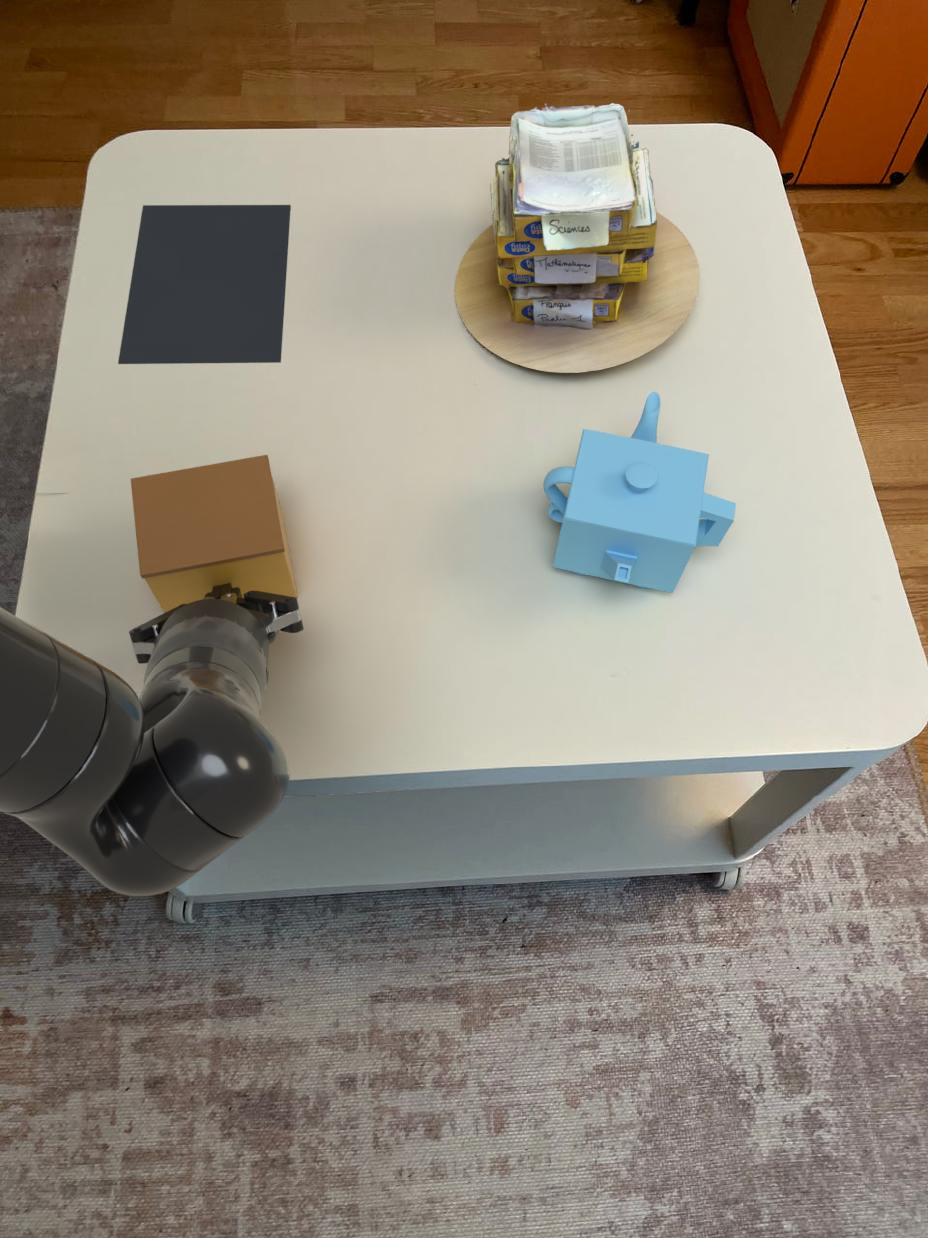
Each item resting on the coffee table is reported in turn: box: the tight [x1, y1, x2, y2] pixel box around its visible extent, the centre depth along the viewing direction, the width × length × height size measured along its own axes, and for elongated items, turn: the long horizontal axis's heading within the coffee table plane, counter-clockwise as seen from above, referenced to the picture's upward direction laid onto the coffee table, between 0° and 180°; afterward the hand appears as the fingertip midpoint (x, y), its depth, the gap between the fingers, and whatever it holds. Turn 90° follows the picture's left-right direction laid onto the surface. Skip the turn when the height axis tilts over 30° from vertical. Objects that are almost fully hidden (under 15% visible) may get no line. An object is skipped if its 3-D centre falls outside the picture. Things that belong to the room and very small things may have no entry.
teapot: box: [543, 391, 737, 594], centre depth 81 cm, size 16×18×11 cm
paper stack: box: [454, 102, 701, 374], centre depth 91 cm, size 25×25×17 cm
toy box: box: [130, 454, 298, 613], centre depth 79 cm, size 9×11×9 cm
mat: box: [117, 204, 292, 365], centre depth 98 cm, size 16×22×1 cm
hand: (224, 595), depth 78 cm, fingers closed
